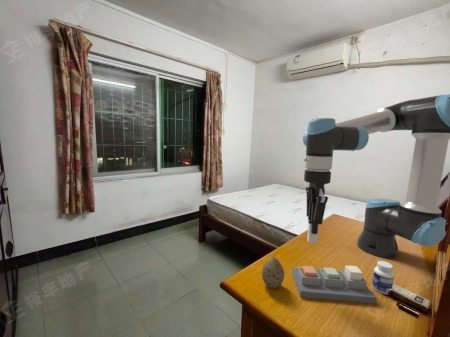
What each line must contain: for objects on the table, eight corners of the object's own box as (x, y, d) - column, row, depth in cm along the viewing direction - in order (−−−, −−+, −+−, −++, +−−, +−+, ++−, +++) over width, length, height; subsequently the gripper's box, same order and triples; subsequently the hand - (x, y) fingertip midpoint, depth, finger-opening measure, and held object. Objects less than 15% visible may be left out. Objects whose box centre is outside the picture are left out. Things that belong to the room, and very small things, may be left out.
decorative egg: (266, 276, 74) (267, 249, 73) (286, 284, 70) (288, 256, 69) (257, 287, 68) (259, 259, 67) (278, 297, 64) (281, 266, 63)
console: (354, 277, 75) (356, 265, 74) (375, 303, 63) (377, 289, 62) (291, 272, 77) (292, 261, 76) (300, 296, 65) (301, 283, 64)
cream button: (355, 274, 70) (356, 266, 70) (361, 281, 67) (362, 272, 66) (344, 273, 71) (345, 265, 70) (349, 280, 67) (350, 272, 67)
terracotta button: (312, 274, 72) (312, 266, 71) (315, 281, 68) (316, 273, 68) (301, 273, 72) (301, 265, 72) (304, 280, 68) (305, 272, 68)
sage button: (333, 276, 71) (334, 268, 71) (338, 283, 68) (339, 274, 67) (322, 275, 71) (323, 267, 71) (326, 282, 68) (327, 273, 67)
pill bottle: (369, 282, 73) (373, 258, 72) (388, 286, 71) (391, 261, 70) (374, 292, 68) (377, 266, 67) (394, 296, 66) (398, 270, 65)
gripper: (299, 166, 72) (295, 232, 75) (312, 172, 59) (306, 251, 62) (322, 167, 71) (317, 233, 75) (339, 173, 58) (332, 252, 62)
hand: (312, 241), depth 68 cm, fingers closed
